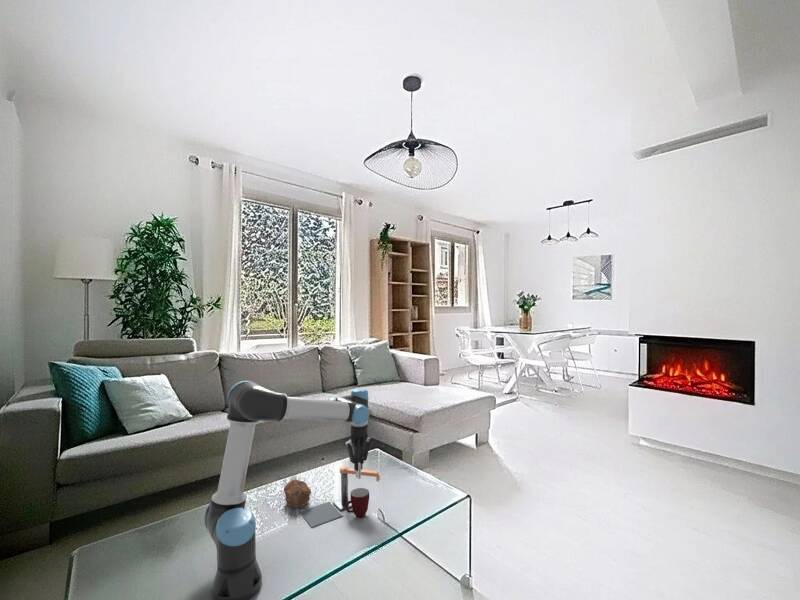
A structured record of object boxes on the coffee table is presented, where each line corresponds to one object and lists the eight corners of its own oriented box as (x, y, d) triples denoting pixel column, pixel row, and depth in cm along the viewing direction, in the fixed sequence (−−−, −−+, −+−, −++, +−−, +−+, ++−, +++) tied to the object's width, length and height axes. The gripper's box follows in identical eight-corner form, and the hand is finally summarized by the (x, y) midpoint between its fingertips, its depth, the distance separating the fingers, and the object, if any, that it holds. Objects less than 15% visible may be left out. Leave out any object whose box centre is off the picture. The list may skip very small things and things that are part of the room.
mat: (311, 528, 158) (311, 527, 158) (299, 512, 170) (299, 511, 170) (342, 516, 166) (342, 515, 166) (329, 502, 178) (329, 501, 178)
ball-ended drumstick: (377, 482, 169) (377, 474, 169) (338, 477, 174) (338, 470, 174) (380, 478, 173) (380, 470, 173) (342, 473, 178) (341, 466, 178)
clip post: (340, 511, 170) (340, 478, 170) (333, 503, 176) (332, 472, 176) (356, 505, 174) (356, 473, 174) (348, 498, 181) (348, 467, 181)
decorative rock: (280, 502, 179) (279, 480, 178) (302, 493, 186) (301, 472, 186) (292, 513, 169) (292, 491, 169) (315, 504, 176) (315, 482, 176)
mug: (351, 525, 160) (350, 501, 159) (342, 516, 166) (342, 493, 166) (373, 516, 166) (372, 493, 165) (363, 508, 172) (363, 486, 172)
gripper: (350, 429, 164) (349, 484, 164) (375, 424, 171) (374, 477, 171) (342, 424, 170) (341, 477, 170) (367, 419, 178) (366, 471, 177)
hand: (358, 477), depth 171 cm, fingers closed
